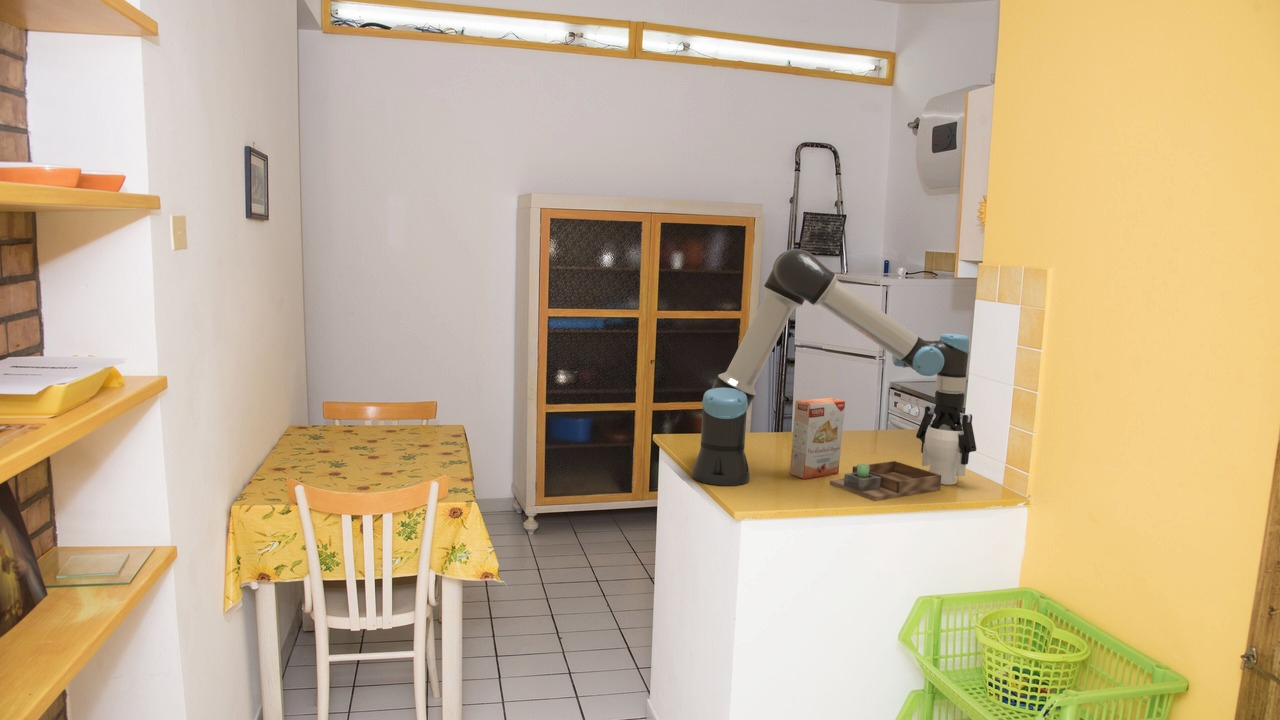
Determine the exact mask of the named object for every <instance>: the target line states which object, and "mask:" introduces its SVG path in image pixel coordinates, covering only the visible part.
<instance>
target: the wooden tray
mask: <svg viewBox="0 0 1280 720" xmlns="http://www.w3.org/2000/svg"><path fill="white" fill-rule="evenodd" d="M867 465H869V477H868V478H860V477H858V476H857V465H853V466H852V471H851V472H847V473H844V478H838V479H831V480H829V485H831V486H834V487H836V488H839V489H842V490H845V491H847V492H850V493H853V494H855V495H858V496H861V497H863V498H866V499H869V500H872V501H874V502H877V501H882V500H887V499H888V500H889V499H894V498H895V499H896V498H899V497H906V496H907V497H908V496H913V495H919V494H925V493H930V492H936V491H937V492H938V491H941V485H942V484H941V475H939V474H935V473H932V472H929V470H926V469H921V468H918V467H915V466H912V465H909V464H906V463H902V462H899V461H896V460H893V461H892V460H891V461H885V462H877V463H870V464H869V463H868V464H867Z"/></svg>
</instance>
